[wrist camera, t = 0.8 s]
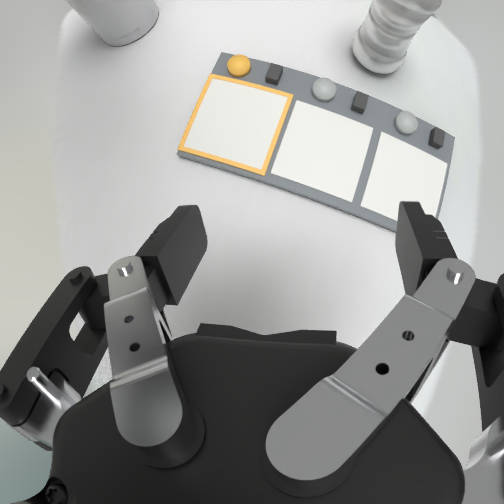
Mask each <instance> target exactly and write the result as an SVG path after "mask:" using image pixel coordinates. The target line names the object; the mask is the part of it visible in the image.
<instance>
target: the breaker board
mask: <svg viewBox="0 0 504 504" xmlns="http://www.w3.org/2000/svg"><path fill="white" fill-rule="evenodd" d="M454 139H455V137H453V136H451V135H450V134H448V133H446V132H445V131H443V130H441V129H439V128H437V127H435V126H433V125H431V124H429V123H427V122H425V121H423V120H421V119H419V118H417V117H415V116H414V115H413V114H412V113H410V112H408V111H403V110H401V109H399V108H396V107H394V106H392V105H390V104H387V103H385V102H383V101H381V100H378V99H376V98H373V97H371V96H369V95H367V94H364V93H362V92H359V91H356V90H353V89H351V88H348V87H345V86H343V85H340V84H337V83H334V82H333V81H331V80H330V79H327V78H320V77H317V76H313V75H310V74H307V73H304V72H301V71H297V70H294V69H290V68H287V67H283V66H280V65H277V64H273V63H268V62H264V61H260V60H256V59H251V58H248V57H246V56H244V55H233V54H228V53H223V52H221V54H220V56H219V59H218V61H217V63H216V65H215V67H214V69H213V71H212V73H211V74H210V75H209V77H208V79H207V81H206V84H205V86H204V88H203V90H202V92H201V95H200V97H199V99H198V101H197V104H196V106H195V108H194V111H193V113H192V115H191V118H190V120H189V122H188V125H187V127H186V129H185V132H184V134H183V137H182V139H181V142H180V144H179V147H178V152H177V155H178V156H179V157H182V158H185V159H189V160H192V161H196V162H199V163H203V164H206V165H209V166H213V167H216V168H219V169H222V170H226V171H229V172H232V173H235V174H238V175H241V176H244V177H248V178H251V179H254V180H257V181H260V182H263V183H266V184H269V185H272V186H275V187H278V188H280V189H283V190H286V191H289V192H292V193H295V194H298V195H300V196H303V197H306V198H309V199H311V200H314V201H317V202H320V203H322V204H325V205H328V206H330V207H333V208H336V209H338V210H341V211H344V212H346V213H349V214H351V215H354V216H356V217H359V218H362V219H364V220H367V221H369V222H372V223H374V224H377V225H379V226H381V227H384V228H386V229H389V230H391V231H394V232H396V229H397V220H398V210H399V203H400V201H418V202H420V204H421V206H422V208H423V210H424V213H425V214H430V215H433V216H434V217H435V218H436V219H437V220H438V217H439V213H440V209H441V205H442V201H443V196H444V192H445V188H446V183H447V178H448V173H449V168H450V163H451V157H452V151H453V145H454Z"/></svg>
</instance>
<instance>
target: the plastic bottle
mask: <svg viewBox="0 0 504 504" xmlns="http://www.w3.org/2000/svg"><path fill="white" fill-rule="evenodd" d="M441 2H442V0H372V2H371V6H370V9H369V13H368V14H367V16H366V18H365V20H364V22H363V24H362V25H361V26H360V27H359V29H358V30H357V32H356V34H355V35H354V37H353V53H354V55H355V57H356V58H357V60H358V61H359V62H360V63H361V64H362V65H363V66H364V67H365V68H367V69H368V70H370V71H372V72H375V73H381V74H389V73H392V72H394V71H395V70H397V69H398V68H399V67H400V66H401V65H402V64H403V62H404V59H405V57H406V53H407V49H408V47H409V44H410V42H411V40H412V38H413V36H414V35H415V34H416V32H417V31H418V30H419V28H420V27H421V26H422V24H423V23H424V22H425V21H426V20H427V19H428V18H429V17H430V16H431V15H432V14H433V13H434V12H436V11H437V9H438V8H439V7H440V5H441Z"/></svg>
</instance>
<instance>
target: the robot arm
mask: <svg viewBox="0 0 504 504" xmlns="http://www.w3.org/2000/svg"><path fill="white" fill-rule="evenodd" d="M66 1H67V2H68V3H69V4H70V5H71V6H72V7H73V8H74V9H75V11H76V12H77V13H78V14H79V15H80V16H81V17H82V18H83V19H84V20H85V21H86V22H87V23H88V24H89V25H90V26H91V27H92V29H93V30H94V31H95V32H96V33H97V34H98V35H99V36H100V37H101V38H102V39H103V40H104V41H105V42H106V43H107V44H109V45H112V46H121V45H126V44H129V43H132V42H133V41H135V40H137V39H139V38H140V37H142V36H143V35H145V34H146V33H147V32H148V31H149V30H150V29H151V28H152V27H153V25H154V24H155V22H156V21H157V18H158V13H159V12H158V8H157V6H156V4H155V3H154V1H153V0H66ZM395 244H396V253H397V257H398V262H399V266H400V270H401V275H402V279H403V284H404V289H405V293H406V295H405V296H404V297H403V298H402V299H401V300H400V301H399V303H398V304H397V305H396V306H395V307H394V309H393V310H392V311H391V312H390V313H389V315H388V316H387V317H386V318H385V319H384V320H383V322H382V323H381V324H380V325H379V326H378V327H377V329H376V330H375V331H374V332H373V333H372V334H371V335H370V336H369V338H368V339H367V340H366V341H365V342H364V343H363V344H362V345H361V346H360V347H359V348H358V349H356V348H354V347H352V346H350V345H347V344H344V343H341V342H337V341H336V332H337V331H321V330H297V331H291V332H285V333H278V334H271V335H260V334H257V333H253V332H250V331H247V330H243V329H240V328H237V327H233V326H227V325H215V324H204V323H200V326H199V328H198V330H197V333H193V334H188V335H184V336H181V337H178V338H176V339H174V336H173V333H172V330H171V327H170V325H169V322H168V319H167V316H166V313H165V311H164V309H163V308H164V306H165V304H166V305H178V303H179V301H180V299H181V297H182V295H183V293H184V292H185V290H186V288H187V286H188V284H189V282H190V280H191V278H192V276H193V274H194V272H195V270H196V269H197V267H198V265H199V263H200V261H201V259H202V257H203V255H204V254H205V252H206V249H207V235H206V232H205V228H204V224H203V221H202V217H201V213H200V210H199V207H198V206H197V205H184V206H178V207H177V209H176V210H175V211H174V212H173V214H172V215H171V216H170V217H169V218H167V219H166V220H165V221H163V222H162V223H160V224H159V225H158V226H157V228H156V229H155V230H154V231H153V233H152V234H151V235H150V237H149V239H147V240H146V242H145V243H144V244H143V246H142V247H141V248H140V249H139V251H138V252H137V253H136V255H135V256H128V257H125V258H122V259H120V260H118V261H117V262H115V263H114V264H113V265H112V266H111V267H110V268H109V270H108V274H104V275H99V276H94V275H93V273H92V271H91V269H90V268H89V267H87V266H82V267H79V268H76V269H74V270H72V271H71V272H69V273H68V274H67V275H66V276H65V277H64V279H63V280H62V281H61V282H60V284H59V285H58V286H57V288H56V289H55V291H54V292H53V293H52V294H51V296H50V297H49V298H48V300H47V301H46V303H45V304H44V305H43V307H42V308H41V310H40V311H39V312H38V314H37V315H36V317H35V318H34V319H33V321H32V322H31V324H30V325H29V327H28V328H27V330H26V331H25V333H24V334H23V336H22V337H21V339H20V341H19V342H18V344H17V345H16V347H15V348H14V350H13V351H12V353H11V355H10V356H9V358H8V359H7V361H6V363H5V364H4V366H3V368H2V369H1V371H0V417H1V418H2V419H3V420H4V421H6V423H7V424H8V425H9V426H10V427H12V428H13V429H14V430H16V431H17V432H18V433H20V434H21V435H22V436H24V437H25V438H27V439H28V440H30V441H32V442H34V443H35V444H37V445H39V446H40V447H41V448H43V449H45V450H47V451H53V453H52V464H51V470H50V475H49V479H48V481H47V483H46V485H45V487H44V488H43V490H41V491H40V492H39V493H38V494H36V495H35V496H33V497H31V498H29V499H27V500H24V501H19V502H15V503H12V504H504V274H502V275H501V276H500V277H499V279H498V282H497V284H495V283H491V282H487V281H483V280H480V279H477V278H475V277H476V276H475V272H474V270H473V269H472V268H471V266H469V265H468V264H467V263H465V262H464V261H462V260H459V259H458V258H457V256H456V253H455V251H454V249H453V247H452V245H451V243H450V241H449V239H448V236H447V234H446V232H444V228H443V226H442V224H441V222H440V221H439V220H437V219H436V218H435V217H434V216H433V215H430V214H425V213H424V210H423V208H422V206H421V204H420V202H418V201H400V203H399V210H398V220H397V229H396V240H395ZM78 312H79V314H80V315H81V317H82V318H83V320H84V321H85V324H84V326H83V327H82V329H81V331H80V332H79V334H78V336H77V337H76V339H75V341H73V339H72V338H71V336H70V333H69V328H70V325H71V323H72V321H73V320H74V318H75V317H76V315H77V314H78ZM450 340H451V341H455V342H459V343H463V344H467V345H471V347H472V353H473V358H474V364H475V369H476V376H477V383H478V391H479V398H480V408H481V419H482V433H481V434H480V435H479V436H478V437H477V438H476V439H475V440H474V442H473V443H472V446H471V449H470V454H469V460H468V463H467V465H466V467H465V468H464V470H463V468H462V466H461V463H460V461H459V460H458V458H457V457H456V455H455V454H454V453H453V452H452V451H451V450H450V448H449V447H448V446H447V445H446V444H445V443H444V441H443V440H442V439H441V438H440V437H439V436H438V434H437V433H436V432H435V431H434V430H433V429H432V428H431V427H430V425H429V424H428V423H427V422H426V421H425V419H424V418H423V417H422V416H421V415H420V414H419V413H418V411H417V410H416V409H415V408H414V407H413V406H412V405H411V403H412V401H413V400H414V398H415V397H416V395H417V394H418V392H419V391H420V389H421V388H422V386H423V384H424V383H425V381H426V379H427V378H428V376H429V375H430V373H431V372H432V370H433V369H434V367H435V365H436V364H437V362H438V361H439V359H440V357H441V356H442V354H443V352H444V351H445V349H446V347H447V345H448V344H449V342H450ZM107 348H109V355H110V362H111V369H112V375H113V379H112V380H111V381H109V382H108V383H106V384H105V385H103V386H102V387H100V388H98V389H97V390H95V391H94V392H92V393H91V394H89V395H88V396H86V397H85V398H83V396H84V394H85V392H86V390H87V388H88V386H89V384H90V382H91V379H92V377H93V375H94V373H95V371H96V369H97V367H98V365H99V363H100V361H101V359H102V357H103V355H104V353H105V351H106V350H107ZM82 398H83V399H82Z"/></svg>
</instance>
